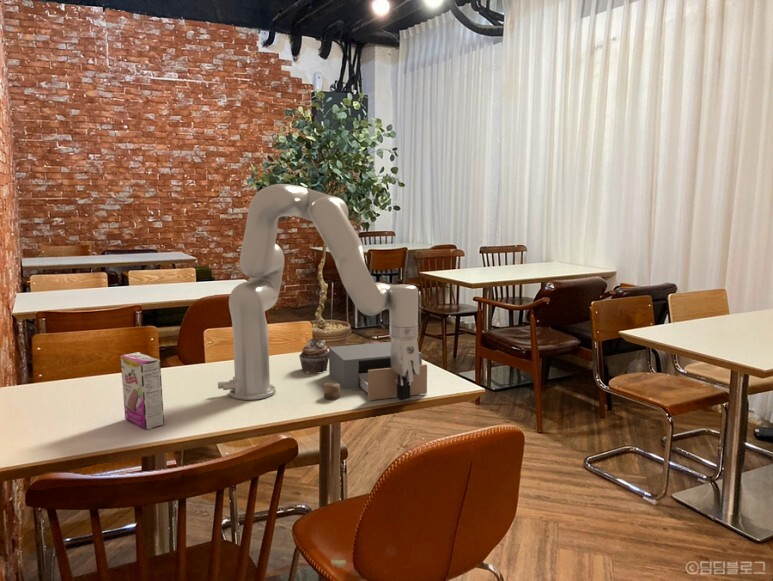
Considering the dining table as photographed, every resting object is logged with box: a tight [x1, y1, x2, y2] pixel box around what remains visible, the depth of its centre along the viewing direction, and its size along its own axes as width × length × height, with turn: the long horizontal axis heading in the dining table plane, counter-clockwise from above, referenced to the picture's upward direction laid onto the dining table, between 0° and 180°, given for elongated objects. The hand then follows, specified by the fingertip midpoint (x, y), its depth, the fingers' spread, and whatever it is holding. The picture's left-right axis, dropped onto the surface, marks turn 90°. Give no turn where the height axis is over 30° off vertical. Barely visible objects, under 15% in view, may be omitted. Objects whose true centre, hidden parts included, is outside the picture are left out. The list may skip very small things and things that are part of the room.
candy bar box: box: [120, 351, 165, 430], centre depth 146 cm, size 11×5×16 cm, turn 48°
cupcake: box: [298, 337, 329, 374], centre depth 193 cm, size 10×10×10 cm
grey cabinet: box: [328, 341, 423, 391], centre depth 184 cm, size 17×24×9 cm
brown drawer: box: [359, 363, 428, 401], centre depth 173 cm, size 18×17×8 cm
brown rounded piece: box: [323, 382, 341, 401], centre depth 166 cm, size 4×4×4 cm
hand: (403, 398), depth 162 cm, fingers closed
